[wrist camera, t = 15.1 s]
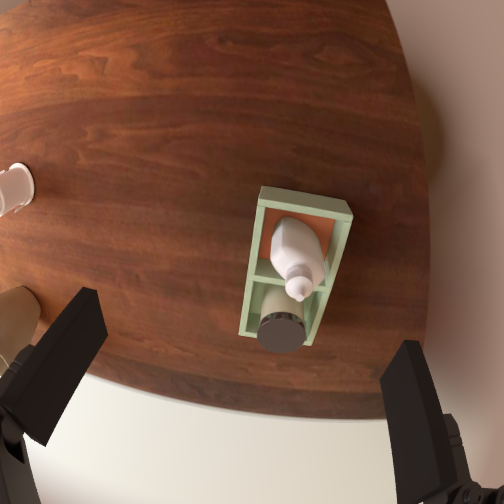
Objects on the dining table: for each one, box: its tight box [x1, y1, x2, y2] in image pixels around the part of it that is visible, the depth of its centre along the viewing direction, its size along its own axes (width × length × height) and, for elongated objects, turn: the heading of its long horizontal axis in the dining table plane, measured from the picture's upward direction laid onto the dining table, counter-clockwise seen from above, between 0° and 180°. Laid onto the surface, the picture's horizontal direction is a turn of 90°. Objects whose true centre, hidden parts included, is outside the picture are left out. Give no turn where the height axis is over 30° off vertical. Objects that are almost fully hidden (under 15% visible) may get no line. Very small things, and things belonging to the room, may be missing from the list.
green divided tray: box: [239, 186, 353, 346], centre depth 36 cm, size 18×10×5 cm, turn 173°
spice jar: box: [257, 283, 306, 353], centre depth 36 cm, size 5×5×8 cm
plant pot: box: [0, 287, 41, 376], centre depth 42 cm, size 15×15×16 cm
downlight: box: [0, 163, 34, 217], centre depth 32 cm, size 8×7×10 cm
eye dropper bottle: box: [270, 216, 325, 302], centre depth 29 cm, size 4×6×12 cm
